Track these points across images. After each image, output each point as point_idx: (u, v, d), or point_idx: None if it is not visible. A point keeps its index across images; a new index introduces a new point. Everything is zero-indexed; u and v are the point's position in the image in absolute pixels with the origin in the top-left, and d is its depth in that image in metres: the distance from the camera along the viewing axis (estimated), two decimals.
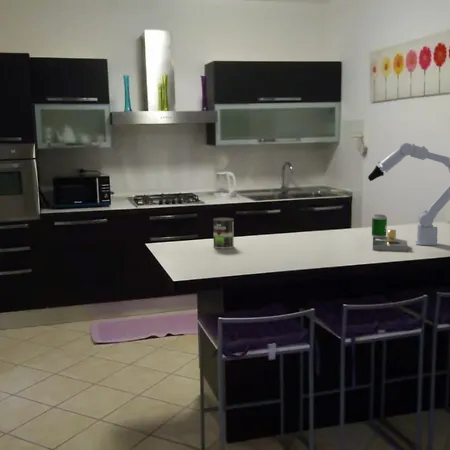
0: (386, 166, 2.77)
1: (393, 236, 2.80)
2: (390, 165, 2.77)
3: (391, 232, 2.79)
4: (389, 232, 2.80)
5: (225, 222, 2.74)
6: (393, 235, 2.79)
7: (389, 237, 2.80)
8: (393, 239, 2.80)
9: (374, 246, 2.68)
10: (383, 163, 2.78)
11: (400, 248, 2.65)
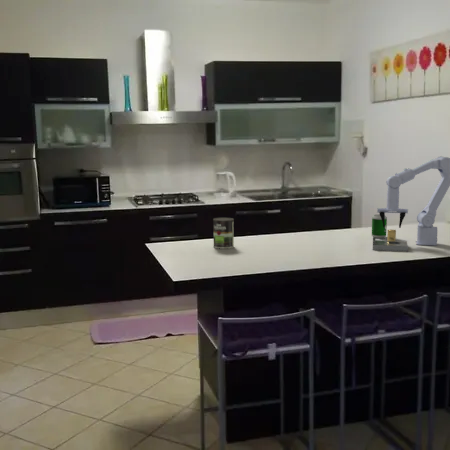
0: None
1: (393, 236, 2.80)
2: None
3: (391, 232, 2.79)
4: (389, 232, 2.80)
5: (225, 222, 2.74)
6: (393, 235, 2.79)
7: (389, 237, 2.80)
8: (393, 239, 2.80)
9: (374, 246, 2.68)
10: (397, 207, 2.77)
11: (400, 248, 2.65)
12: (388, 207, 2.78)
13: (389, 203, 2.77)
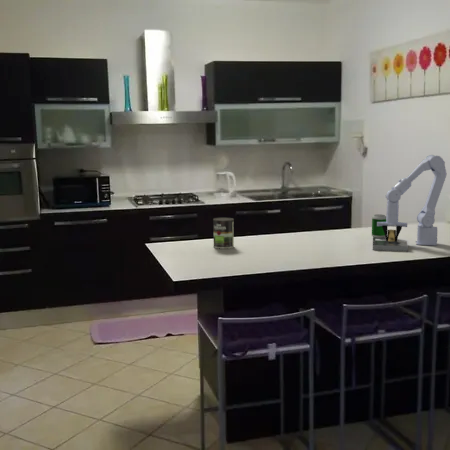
0: None
1: (393, 236, 2.80)
2: None
3: (391, 232, 2.79)
4: (389, 232, 2.80)
5: (225, 222, 2.74)
6: (393, 235, 2.79)
7: (389, 237, 2.80)
8: (393, 239, 2.80)
9: (374, 246, 2.68)
10: (397, 221, 2.78)
11: (400, 248, 2.65)
12: (388, 221, 2.79)
13: (388, 217, 2.78)
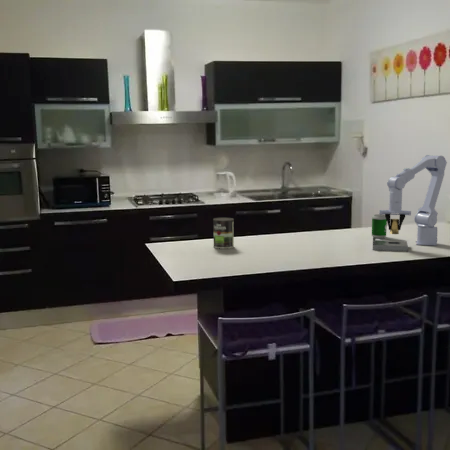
0: None
1: (396, 225, 2.69)
2: None
3: (394, 221, 2.69)
4: (392, 221, 2.70)
5: (225, 222, 2.74)
6: (396, 224, 2.69)
7: (392, 226, 2.70)
8: (396, 228, 2.69)
9: (374, 246, 2.68)
10: (400, 209, 2.67)
11: (400, 248, 2.65)
12: (390, 209, 2.68)
13: (391, 205, 2.68)
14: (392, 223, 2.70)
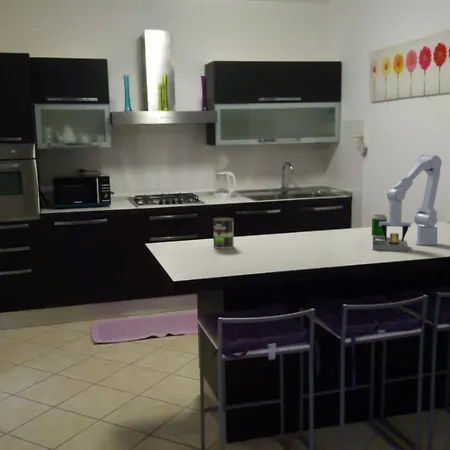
0: None
1: (396, 240, 2.70)
2: None
3: (394, 236, 2.70)
4: (392, 236, 2.70)
5: (225, 222, 2.74)
6: (396, 239, 2.70)
7: (392, 241, 2.71)
8: (396, 243, 2.70)
9: (374, 246, 2.68)
10: (400, 221, 2.68)
11: (400, 248, 2.65)
12: (390, 221, 2.69)
13: (391, 217, 2.68)
14: (392, 238, 2.70)
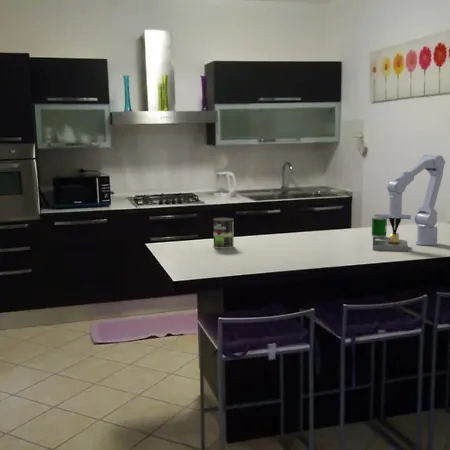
0: None
1: (396, 240, 2.70)
2: None
3: (394, 236, 2.70)
4: (392, 236, 2.70)
5: (225, 222, 2.74)
6: (396, 238, 2.70)
7: (392, 241, 2.71)
8: (396, 243, 2.70)
9: (374, 246, 2.68)
10: (400, 213, 2.67)
11: (400, 248, 2.65)
12: (391, 213, 2.68)
13: (391, 209, 2.68)
14: (392, 238, 2.71)
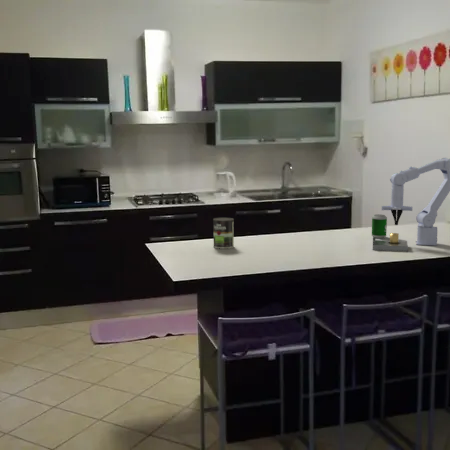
0: None
1: (396, 240, 2.70)
2: None
3: (394, 236, 2.70)
4: (391, 236, 2.70)
5: (225, 222, 2.74)
6: (395, 238, 2.70)
7: (392, 241, 2.71)
8: (396, 243, 2.70)
9: (374, 246, 2.68)
10: (401, 205, 2.75)
11: (400, 248, 2.65)
12: (392, 205, 2.76)
13: (393, 200, 2.75)
14: (391, 238, 2.71)
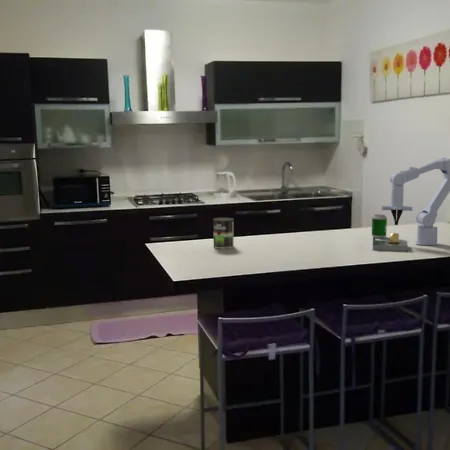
0: None
1: (396, 240, 2.70)
2: None
3: (394, 236, 2.70)
4: (392, 236, 2.70)
5: (225, 222, 2.74)
6: (396, 239, 2.70)
7: (392, 241, 2.71)
8: (396, 243, 2.70)
9: (374, 246, 2.68)
10: (401, 205, 2.75)
11: (400, 248, 2.65)
12: (392, 205, 2.76)
13: (393, 200, 2.75)
14: (392, 238, 2.70)
